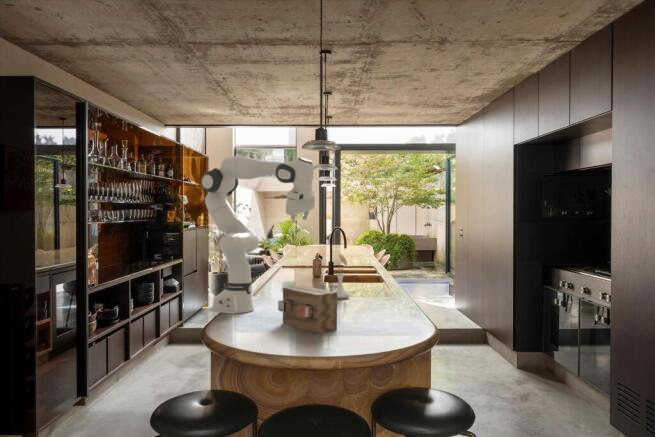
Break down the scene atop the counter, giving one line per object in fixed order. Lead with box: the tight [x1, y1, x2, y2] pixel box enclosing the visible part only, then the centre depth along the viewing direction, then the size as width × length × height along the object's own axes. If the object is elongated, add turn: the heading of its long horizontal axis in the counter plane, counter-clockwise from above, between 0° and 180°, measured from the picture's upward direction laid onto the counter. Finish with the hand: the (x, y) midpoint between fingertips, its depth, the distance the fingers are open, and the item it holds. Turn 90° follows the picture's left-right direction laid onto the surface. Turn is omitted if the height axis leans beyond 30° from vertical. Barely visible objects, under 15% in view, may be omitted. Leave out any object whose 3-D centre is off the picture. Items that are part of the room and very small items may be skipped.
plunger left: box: [277, 299, 293, 313], centre depth 221 cm, size 8×4×4 cm, turn 130°
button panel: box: [282, 285, 338, 335], centre depth 219 cm, size 11×24×16 cm, turn 40°
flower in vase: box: [332, 253, 351, 300], centre depth 289 cm, size 13×11×25 cm
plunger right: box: [298, 305, 313, 318], centre depth 210 cm, size 8×4×4 cm, turn 130°
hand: (299, 221), depth 240 cm, fingers open, 8 cm apart
